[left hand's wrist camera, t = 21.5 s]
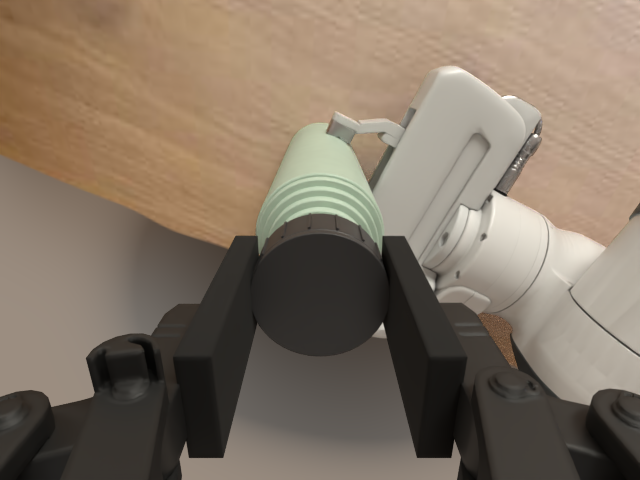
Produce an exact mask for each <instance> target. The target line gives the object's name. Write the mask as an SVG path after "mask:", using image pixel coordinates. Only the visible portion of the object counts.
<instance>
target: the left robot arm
mask: <svg viewBox="0 0 640 480" xmlns="http://www.w3.org/2000/svg"><path fill="white" fill-rule="evenodd" d="M381 256H382V259H383V260H382V261H383V264H384V267H385V270H386V273H387V276H388V280H389V284H390V289H389V304H388V312H387V315H386V317H385V319H384V321H383V325H384V329H385V333H386V337H387V341H388V345H389V349H390V352H391V356H392V360H393V364H394V368H395V372H396V376H397V380H398V384H399V388H400V392H401V396H402V400H403V404H404V408H405V412H406V416H407V420H408V424H409V428H410V432H411V436H412V440H413V443H414V448H415V452H416V456H417V458H451V456H452V450H453V444H454V439H455V442H456V445H457V447H458V450H459V453H460V455H461V461H460V466H459V472H458V478H457V480H640V395H638V394H636V393H632V392H629V391H626V390H620V389H611V388H609V389H604V390H599V391H598V392H596V393H595V394H594V395H593V397H592V400H591V403H590V406H589V405H585V404H580V403H576V402H571V401H567V400H562V399H558V398H555V397H551V396H548V395H546V393H545V391H544V390H543V388H542V387H541V385H540V384H539V383H538V382H537V381H536V380H535V379H533V378H532V377H531V376H530V375H528V374H526V373H524V372H522V371H519V370H517V369H514V368H511V366H510V365H509V363H508V362H507V360H506V359H505V357H504V356H503V354H502V353H501V351H500V349H499V348H498V346H497V345H496V343H495V342H494V340H493V339H492V337H491V336H489V333H488V331H487V330H486V328H485V326H483V323H482V322H481V320H480V319H479V317H478V316H477V314H476V313H475V312H474V311H473V310H471V309H470V308H468V307H467V306H466V305H464V304H463V303H439V301H438V299H437V297H436V295H435V293H434V291H433V289H432V288H431V286H430V284H429V282H428V280H427V278H426V276H425V274H424V272H423V270H422V268H421V266H420V265H419V263H418V261H417V259H416V257H415V255H414V253H413V251H412V249H411V247H410V245H409V243H408V242H407V240H406V238H405V236H383V237H382V253H381ZM258 259H259V249H258V236H235V238H234V240H233V242H232V244H231V246H230V248H229V250H228V252H227V254H226V256H225V257H224V259H223V261H222V263H221V265H220V267H219V269H218V271H217V273H216V275H215V277H214V278H213V281H212V282H211V284H210V286H209V288H208V290H207V292H206V294H205V296H204V298H203V300H202V302H201V303H200V304H178V305H177V306H175V307H174V308H173V309H171V310H170V311H168V312H167V313H166V314H165V315H164V316H163V318H162V319H161V321H160V322H159V324H158V327H157V328H156V329H155V330H154V332H153V333H152V335H151V336H150V335H146V334H127V335H122V336H118V337H115V338H112V339H110V340H108V341H105V342H103V343H102V344H100V345H99V346H97V347H96V348H94V349H93V350H92V351H91V352H90V354H89V355H88V356H87V357H86V360H87V364H88V368H89V372H90V376H91V380H92V383H93V387H94V391H95V393H94V396H93V397H91V398H88V399H85V400H81V401H77V402H72V403H68V404H63V405H59V406H54V407H51V405H50V402H49V399H48V397H47V396H46V395H45V394H44V393H42V392H39V391H33V390H28V391H19V392H14V393H11V394H8V395H5V396H2V397H0V480H181V479H182V473H181V466H180V461H179V458H180V456H181V453H182V450H183V447H184V445H185V442H187V448H188V455H189V458H223V457H224V453H225V449H226V445H227V441H228V437H229V433H230V429H231V425H232V421H233V417H234V413H235V409H236V405H237V401H238V397H239V393H240V389H241V385H242V381H243V377H244V373H245V369H246V365H247V361H248V358H249V354H250V350H251V346H252V342H253V338H254V334H255V330H256V326H257V321H256V319H255V317H254V314H253V312H252V300H251V280H252V276H253V273H254V270H255V267H256V264H257V261H258Z"/></svg>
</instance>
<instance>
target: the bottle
mask: <svg viewBox="0 0 640 480" xmlns="http://www.w3.org/2000/svg"><path fill="white" fill-rule="evenodd" d="M328 125H329V124H327V123H313V124H310V125H307V126H305V127H303V128H302V129H300V130H299V131H298V132H297V133H296V134H295V135H294V137H293V138H292V140H291V142H290V144H289V146H288V149H287V151H286V153H285V156H284V158H283V160H282V162H281V165H280V167H279V169H278V171H277V174H276V176H275V178H274V181H273V183H272V185H271V187H270V190H269V192H268V194H267V196H266V199H265V201H264V203H263V205H262V208H261V210H260V213H259V215H258V219H257V223H256V236H258V249H259V254H260V253H261V250H262V248H263V246H264V243H265V240H266V238H267V237H268V238H269V237H270V236H271V234H272V233H273V232H274V231H275V230H276V229H278V228H279V227H280V226H282V225H283V224H284V222H285V221H287V222H288V221H290V220H292V219H295V218H297V217H300V216H304V215H309V213H311V214H332V215H335V214H337V215H338V216H340V217H343V218H345V219H348V220H350V221H352V222H354V223H356V224H357V225H361V227H362V229H364V230H365V231H366V232H367V233H368V234H369V236H370V237H371V238H372V239H373V241H374V242H377V244H378V247H379V250H380V253H381V251H382V237H383V236H384V223H383V218H382V215H381V212H380V210H379V207H378V205H377V203H376V200H375V198H374V196H373V194H372V191H371V189H370V187H369V185H368V182H367V180H366V178H365V175H364V173H363V171H362V169H361V166H360V164H359V162H358V160H357V157H356V155H355V153H354V150H353V148H352V146H351V144H348V143H346V142H344V141H342V140H341V139H340V137H334V136H332V135H330V134H328V133H327V132H326V130H327V127H328Z"/></svg>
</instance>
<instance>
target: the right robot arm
mask: <svg viewBox="0 0 640 480" xmlns="http://www.w3.org/2000/svg"><path fill="white" fill-rule="evenodd" d="M534 128H535V131H534V134H533V133H532V131H533V130H534ZM541 130H542V117H541V114H540V112H539V111H538V109H537V108H536V107H535V106H533V105H531V104H530V103H528V102H526V101H524V100H522V99H521V98H519V97H517V96H512V95H505V96H500V95H499V94H498V93H496V92H495V91H494V90H493V89H491V88H490V87H489V86H487V85H486V84H485V83H483V82H482V81H480V80H479V79H478V78H476V77H475V76H473V75H471V74H470V73H468V72H467V71H465V70H463V69H462V68H459V67H457V66H450V65H449V66H443V67H439V68H436V69H434V70H431V71H429V72H428V73H427V75H426V76H425V78H424V80H423V82H422V84H421V85H420V87H419V89H418V91H417V93H416V95H415V97H414V98H413V100H412V102H411V104H410V106H409V108H408V110H407V111H406V113H405V115H404V117H403V119H402V121H401V123H400V124H399V125H398V124H396V123H394V122H392V121H390V120H388V119H386V118H382V119H370V120H358V122H357V121H355V120H353V119H351V118H349V117H347V116H345V115H343V114H341V113H339V112H336V111H335V112H334V114H333V117H332V118H331V121H330V123H329V125H328V127H327V130H326V132H327V133H328V134H330V135H332V136H334V137H340V139H341V140H342V141H344V142H346V143H348V144H350V142H351V140H352V139H353V137H354V135H355V133H356V134H363V133H378V134H377V135H378V137H379V139H380V140H381V141H383V142H385V143H386V144H388V147H387V149H386V150H385V152H384V154H383V156H382V158H381V160H380V161H379V163H378V165H377V167H376V169H375V171H374V173H373V174H372V176H371V178H370V180H369V182H368V185H369V187H370V189H371V191H372V194H373V196H374V198H375V200H376V203H377V205H378V207H379V210H380V212H381V215H382V218H383V223H384V236H405V238H406V240H407V242H408V243H409V245H410V247H411V249H412V251H413V253H414V255H415V257H416V259H417V261H418V263H419V265H420V266H421V268H422V270H423V272H424V274H425V276H426V278H427V280H428V282H429V284H430V286H431V288H432V289H433V291H434V293H435V295H436V297H437V299H438V301H439V303H463V304H464V305H466V306H467V307H468V308H470V309H471V310H473V311H474V312H475V313H476V314H477V315H478V314H480V313H486V314H491V315H496V316H498V317H501V318H503V319H504V320H506V321H507V322H508V323H509V324H510V325H511V327H512V333H510V339H511V344H512V349H513V353H514V356H515V359H516V363H517V366H518V369H519V371H522V372H524V373H526V374H528V375H530V376H531V377H532V378H533V379H535V380H536V381H537V382H538V383H539V384H540V385H541V387H542V388H543V390H544V391H545V393H546V395H548V396H551V397H555V398H558V399H562V400H567V401H571V402H576V403H580V404H585V405H589V406H590V403H591V400H592V397H593V395H594V394H595V393H596V392H598V391H599V390H604V389H609V388H611V389H620V390H626V391H629V392H632V393H636V394H638V395H640V203H639V205H638V206H637V208H636V209H635V210H634V212H633V213H632V215H631V216H630V218H629V222H628V223H627V224H626V226H625V227H624V228H623V229H622V230H621V231H620V233H619V234H618V235H617V236H616V237H615V238H614V240H613V241H612V242H611V243H610V244H609V245H608V247H607V248H606V247H604V246H603V245H601V244H599V243H597V242H595V241H594V240H592V239H590V238H588V237H586V236H584V235H582V234H579V233H576V232H572V231H566V230H561V229H559V228H557V227H555V226H554V225H553V224H552V223H551V222H550V221H549V220H548V219H547V218H546V217H545V216H543V215H542V214H540V213H539V212H537V211H535V210H533V209H531V208H529V207H527V206H525V205H523V204H521V203H519V202H517V201H515V200H514V199H512V198H510V197H508V196H507V193H508V192H509V190H510V189H511V188H512V186H513V184H514V183H515V181H516V180H517V179H518V177H519V175H520V174H521V172H522V170H523V169H522V168H524V166H525V164H526V162H527V161H528V160H529V158H530V157H531V156H533V154H534V153H535V152H536V150H537V149H538V147H539V145H540V143H541V141H542V138H541V137H539V135H540V133H541ZM381 253H382V251H381ZM372 337H376V338H387V337H386V333H385V329H384V325H383V323H382V325H381V326H380V327H379V329H378V330H377V331H376V332H375V334H374V335H373V336H372Z"/></svg>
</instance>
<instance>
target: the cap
mask: <svg viewBox="0 0 640 480" xmlns="http://www.w3.org/2000/svg"><path fill="white" fill-rule="evenodd" d="M382 260H383V259H382V256H381V253H380V250H379V247H378V244H377V242H374V241H373V239H372V238H371V237H370V236H369V234H368V233H367V232H366V231H365V230H364V229H362V227H361V225H357V224H356V223H354V222H352V221H350V220H348V219H345V218H343V217H340V216H338V215H337V214H335V215H332V214H311V213H309V215H304V216H300V217H297V218H295V219H292V220H290V221H288V222H287V221H285V222H284V224H283V225H282V226H280V227H279V228H278V229H276V230H275V231H274V232H273V233H272V234H271V236H270V237H269V238H268V237H267V238H266V240H265V243H264V246H263V248H262V250H261V253H260V256H259V259H258V261H257V264H256V267H255V270H254V273H253V276H252V280H251V300H252V312H253V314H254V317H255V319H256V321H257V323H258V324H259V326H260V327H261V329H262V330H263V331H264V332H265V333H266V334H267V335H268V336H269V337H270V338H271V339H272V340H273V341H274V342H276V343H277V344H279V345H281V346H282V347H284V348H286V349H288V350H290V351H293V352H296V353H299V354H303V355H308V356H331V355H337V354H341V353H344V352H347V351H350V350H352V349H354V348H356V347H358V346H360V345H361V344H363V343H364V342H366V341H367V340H368V339H369V338H371V337H372V336H373V335H374V334H375V332H376V331H377V330H378V329H379V327H380V326H381V325H382V323H383V321H384V319H385V317H386V315H387V312H388V304H389V289H390V284H389V280H388V276H387V273H386V270H385V267H384V264H383V261H382Z"/></svg>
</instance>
